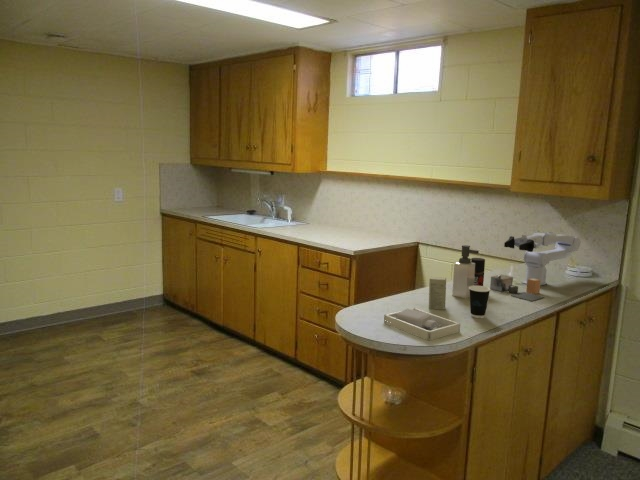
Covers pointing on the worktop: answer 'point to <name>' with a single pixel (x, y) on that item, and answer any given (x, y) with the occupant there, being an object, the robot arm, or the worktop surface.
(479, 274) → the deodorant
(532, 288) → the block
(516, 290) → the black knob
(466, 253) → the soap dispenser
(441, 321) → the tray
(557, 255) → the robot arm
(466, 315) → the worktop surface
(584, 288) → the worktop surface
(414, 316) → the charger
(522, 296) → the rubber mat
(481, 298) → the dixie cup
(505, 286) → the junction box
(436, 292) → the skincare box
